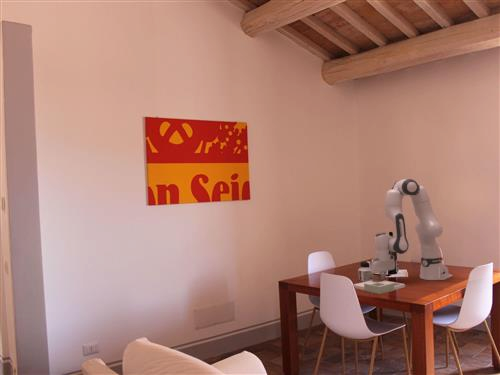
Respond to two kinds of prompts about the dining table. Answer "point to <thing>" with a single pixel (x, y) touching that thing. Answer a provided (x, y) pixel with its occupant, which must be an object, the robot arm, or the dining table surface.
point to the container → (365, 272)
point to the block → (377, 278)
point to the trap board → (379, 286)
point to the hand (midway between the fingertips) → (383, 278)
